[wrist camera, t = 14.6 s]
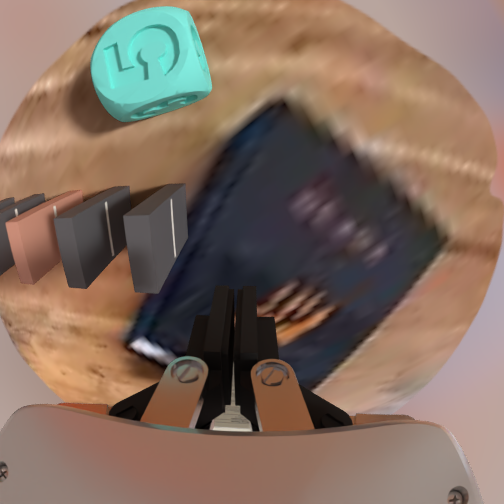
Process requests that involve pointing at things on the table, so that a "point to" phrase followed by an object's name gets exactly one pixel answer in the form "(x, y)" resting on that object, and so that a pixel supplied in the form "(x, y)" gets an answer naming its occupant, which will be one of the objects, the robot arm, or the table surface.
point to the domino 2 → (38, 236)
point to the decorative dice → (150, 64)
